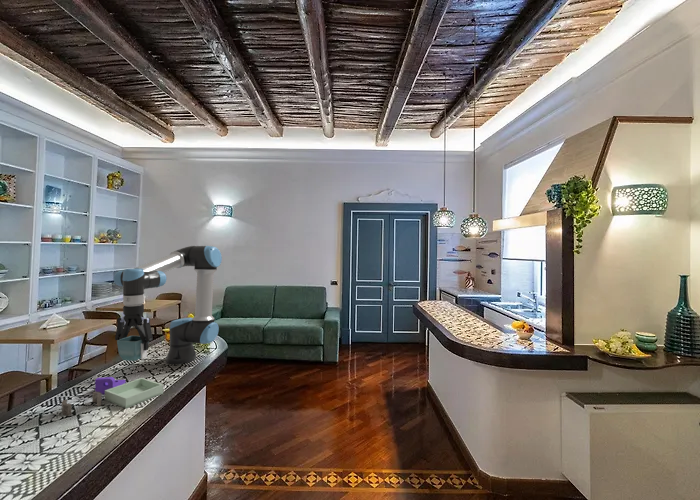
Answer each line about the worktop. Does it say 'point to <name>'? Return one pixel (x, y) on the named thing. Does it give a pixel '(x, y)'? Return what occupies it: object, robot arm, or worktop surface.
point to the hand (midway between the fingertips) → (134, 357)
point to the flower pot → (130, 348)
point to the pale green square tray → (133, 392)
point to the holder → (67, 407)
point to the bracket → (106, 384)
